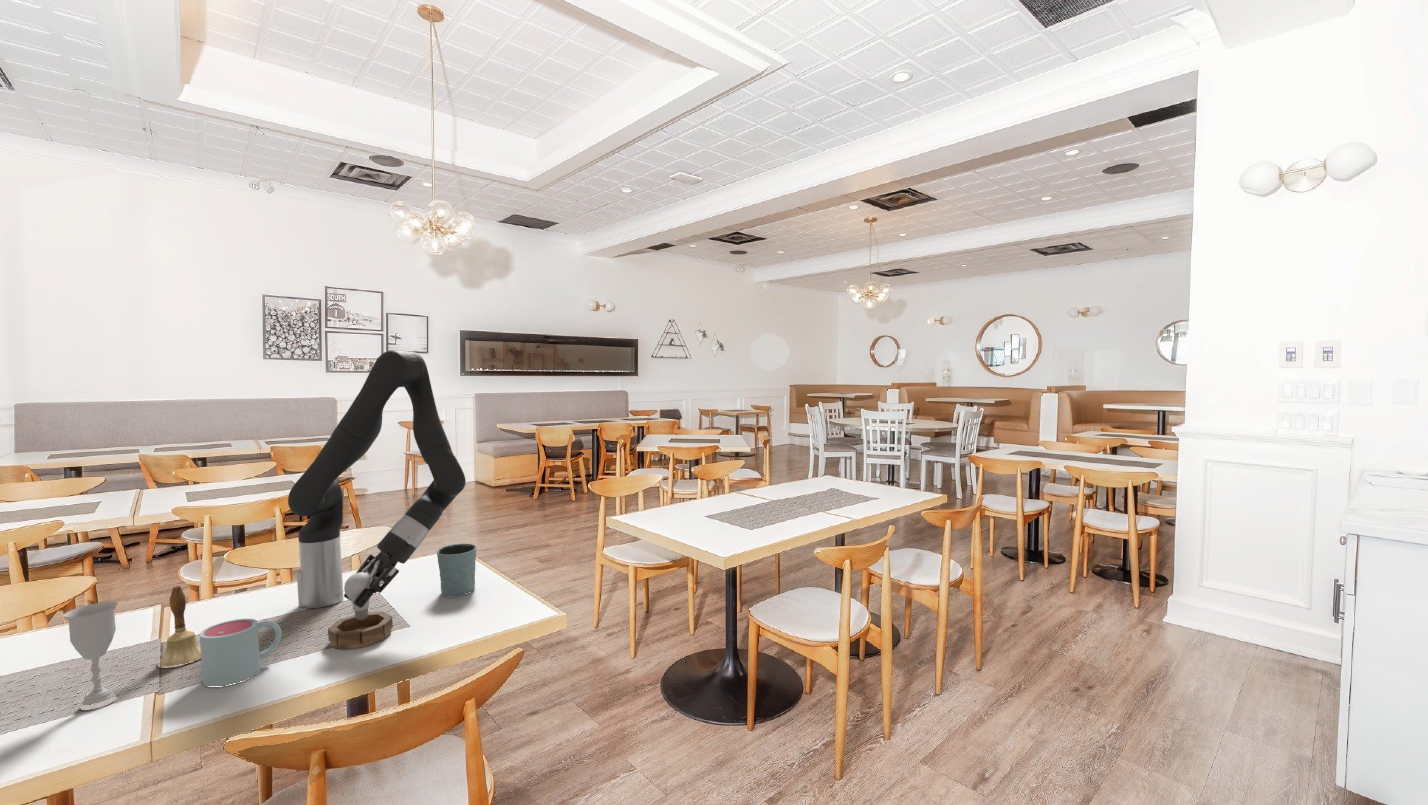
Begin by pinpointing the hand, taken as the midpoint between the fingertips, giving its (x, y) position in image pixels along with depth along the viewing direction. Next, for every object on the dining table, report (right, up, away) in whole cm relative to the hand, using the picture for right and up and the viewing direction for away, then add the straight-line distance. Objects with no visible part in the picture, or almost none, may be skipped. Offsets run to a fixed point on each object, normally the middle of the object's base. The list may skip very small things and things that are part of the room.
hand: (352, 601), depth 139 cm
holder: (+1, -9, +2) cm, 9 cm away
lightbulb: (+1, -5, +2) cm, 5 cm away
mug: (-14, -10, -13) cm, 22 cm away
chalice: (-33, -11, -25) cm, 43 cm away
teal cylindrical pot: (+12, -7, +30) cm, 33 cm away
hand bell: (-32, -10, -7) cm, 34 cm away
